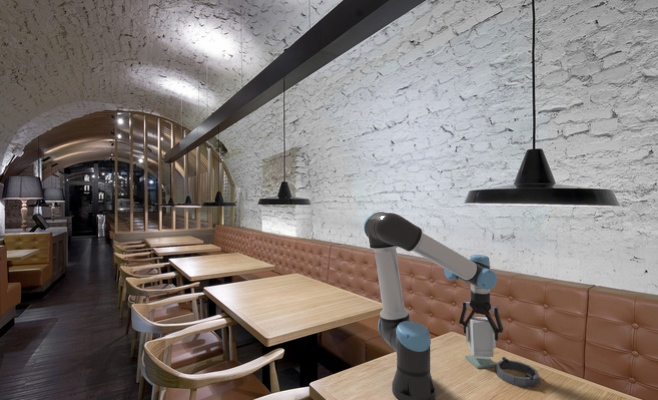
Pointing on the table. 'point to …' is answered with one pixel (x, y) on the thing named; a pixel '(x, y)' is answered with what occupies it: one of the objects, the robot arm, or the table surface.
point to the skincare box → (480, 337)
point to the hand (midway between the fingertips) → (480, 344)
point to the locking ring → (530, 381)
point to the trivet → (480, 361)
